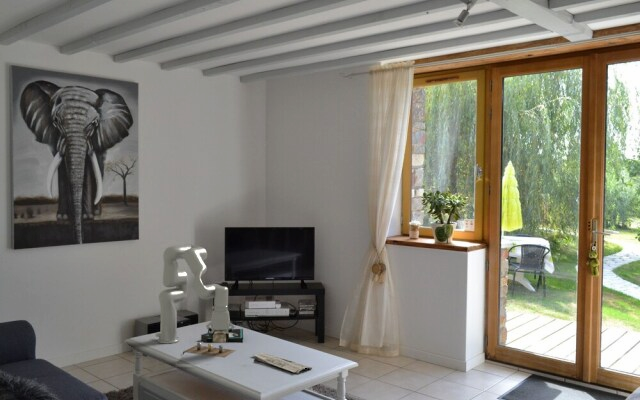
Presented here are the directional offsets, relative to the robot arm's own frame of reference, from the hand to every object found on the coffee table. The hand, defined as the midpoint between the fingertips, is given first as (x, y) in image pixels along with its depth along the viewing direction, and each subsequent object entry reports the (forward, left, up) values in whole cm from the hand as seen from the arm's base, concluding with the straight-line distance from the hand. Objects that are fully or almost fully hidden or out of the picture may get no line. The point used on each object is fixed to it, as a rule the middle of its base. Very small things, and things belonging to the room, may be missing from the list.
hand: (220, 339), depth 326 cm
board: (-6, 0, -9) cm, 11 cm away
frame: (0, 0, 0) cm, 0 cm away
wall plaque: (-12, +29, -9) cm, 33 cm away
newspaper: (+38, -3, -9) cm, 39 cm away
